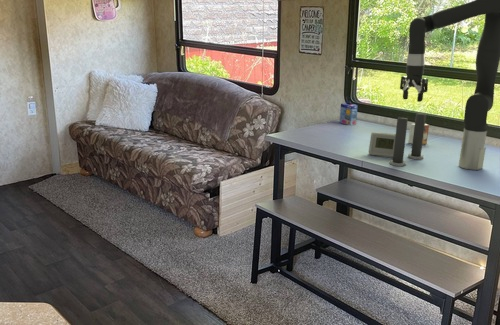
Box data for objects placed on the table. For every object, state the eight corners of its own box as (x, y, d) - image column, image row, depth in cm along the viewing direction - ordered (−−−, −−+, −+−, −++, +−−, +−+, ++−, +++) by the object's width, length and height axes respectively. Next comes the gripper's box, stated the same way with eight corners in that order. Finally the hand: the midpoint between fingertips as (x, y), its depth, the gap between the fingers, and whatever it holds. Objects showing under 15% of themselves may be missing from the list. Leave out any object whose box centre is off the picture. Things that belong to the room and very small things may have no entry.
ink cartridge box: (338, 122, 311) (340, 99, 307) (345, 121, 314) (346, 99, 310) (350, 125, 304) (352, 102, 300) (356, 124, 307) (358, 101, 303)
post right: (425, 157, 236) (431, 114, 230) (418, 160, 231) (424, 116, 225) (412, 154, 241) (417, 112, 235) (405, 157, 236) (410, 113, 230)
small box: (414, 145, 259) (417, 125, 256) (407, 142, 264) (410, 123, 261) (427, 144, 262) (429, 124, 259) (419, 141, 267) (422, 122, 264)
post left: (408, 164, 224) (413, 118, 218) (400, 167, 219) (405, 120, 214) (394, 161, 229) (399, 116, 223) (386, 163, 224) (391, 118, 218)
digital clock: (366, 154, 238) (368, 133, 235) (373, 151, 246) (375, 130, 243) (399, 160, 230) (402, 138, 227) (405, 156, 237) (408, 135, 234)
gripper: (434, 65, 217) (430, 101, 221) (409, 63, 229) (406, 97, 234) (421, 65, 214) (418, 103, 218) (397, 63, 226) (394, 99, 230)
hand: (412, 100), depth 226 cm, fingers open, 8 cm apart
